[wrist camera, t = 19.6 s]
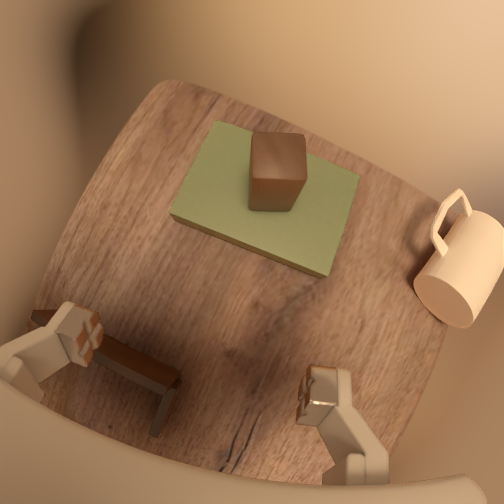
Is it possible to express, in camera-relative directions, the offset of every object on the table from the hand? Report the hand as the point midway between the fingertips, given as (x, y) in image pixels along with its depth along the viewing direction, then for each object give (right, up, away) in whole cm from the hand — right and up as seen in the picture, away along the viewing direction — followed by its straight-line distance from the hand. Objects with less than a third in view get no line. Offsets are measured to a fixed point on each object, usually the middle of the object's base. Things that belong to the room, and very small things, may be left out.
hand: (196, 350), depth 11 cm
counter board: (+3, +9, +21) cm, 23 cm away
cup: (+20, 0, +16) cm, 25 cm away
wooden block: (+4, +9, +18) cm, 21 cm away
